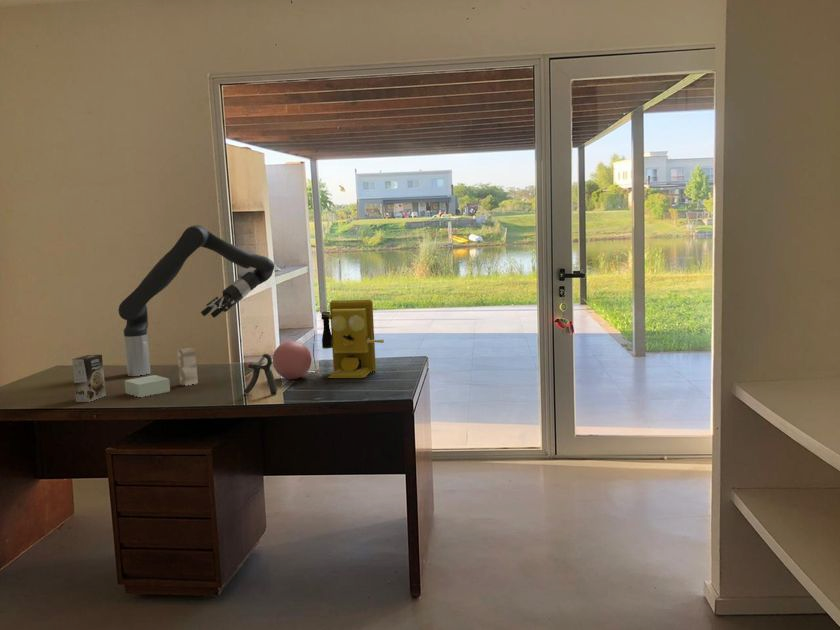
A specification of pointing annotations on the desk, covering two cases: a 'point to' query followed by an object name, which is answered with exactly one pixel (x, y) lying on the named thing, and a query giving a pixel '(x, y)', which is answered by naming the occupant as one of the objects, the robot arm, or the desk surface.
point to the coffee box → (88, 378)
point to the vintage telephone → (350, 338)
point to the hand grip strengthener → (267, 372)
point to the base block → (147, 386)
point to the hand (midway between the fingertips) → (207, 315)
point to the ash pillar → (187, 366)
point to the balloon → (292, 360)
